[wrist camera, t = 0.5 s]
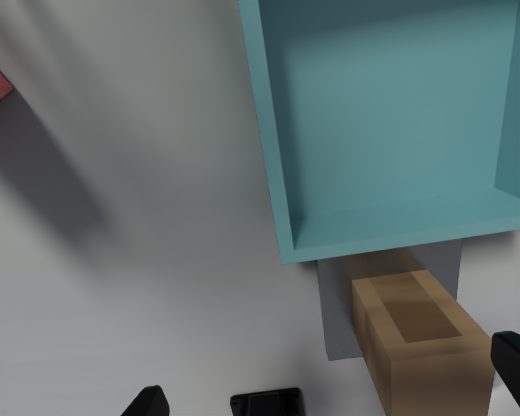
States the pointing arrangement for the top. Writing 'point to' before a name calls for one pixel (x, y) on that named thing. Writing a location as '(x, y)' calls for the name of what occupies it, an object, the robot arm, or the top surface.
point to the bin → (386, 120)
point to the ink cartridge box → (4, 87)
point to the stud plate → (373, 265)
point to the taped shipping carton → (421, 347)
